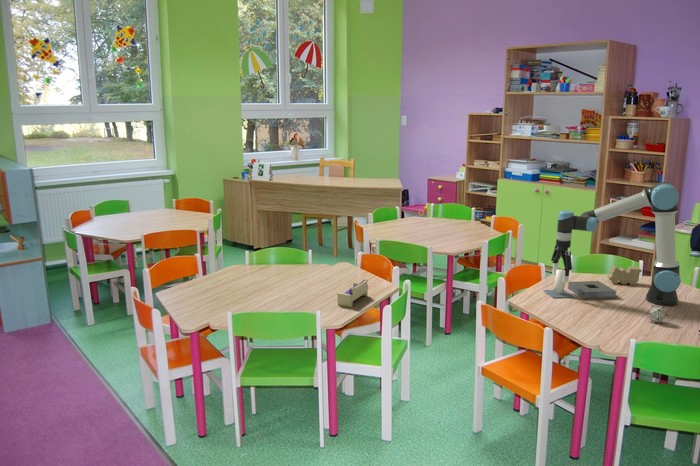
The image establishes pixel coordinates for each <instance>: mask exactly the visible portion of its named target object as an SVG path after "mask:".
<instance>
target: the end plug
mask: <svg viewBox="0 0 700 466" xmlns="http://www.w3.org/2000/svg"><path fill="white" fill-rule="evenodd" d="M563 275H564V269H559V268H558V269H557V270H556V275H555V278H554V289H553V290H554V293H555V294H557V295H563V294H564V290H565V283H566V282H563Z"/></svg>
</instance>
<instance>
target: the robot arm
mask: <svg viewBox="0 0 700 466" xmlns="http://www.w3.org/2000/svg"><path fill="white" fill-rule="evenodd" d="M679 195H680V194H679V191H678V190H677V188H676V186H675V185H674V184H673V183H670V182H668V181H662V182H658V183H655V184H653V185H651V186H649V187H646V188H644V189H642V191H641V192H639V193H636V194H633V195H631V196H628V197H625V198H622V199H620V200H617V201H614V202H613V201H612V202H610V203H609V204H605V205H603V206H600V207H597V208H595V209H592V210H590V211H584V212H582V213H581V214H580V215H575V214H574V212H573V211H572V210H571V211H570V210H561V211H559V212H558V219H557V229H556V234H555V235H556V240H555V245H554V248H553V249H554V250H553V253H552V256H551V259H550V260H551V262H552V273H551V275H552V276H553V275H554V276H556V270H557V269H559V264H560V263H559V261H560V259H562V263H563V266H564V269H563V270H564V275H563V282H565V283H566V282H567V283H569V277H570V271H572V270H573V264H572V252H571V251H569V250H568V249H569V248H571V246H572V245H571V244H572V234H573V230H574V231H582V232H583V231H584V232H588V233H589V232H592V233H593V232H597V227H598V224H599V223H601V222H604V221H607V220H610V219H612V218H613V219H614V218H615V217H619V216H621V215H625V214H627V213H629V212H633V211H636V210H638V209H641V208H644V207H647V206H649V207H651V213H652V214H653V215H654V216H655V218H654V219H655V221H654V222H655V248H656V249H655V251H656V253H655V254H656V256H655V257H656V259H654V261H653V265H652V266H653V269H652V277H651V283H650V284H651V285H650V286H649V289H648V290H647V293H646V295H645V301H647V302H649V303H652V304H654V305H660V306H665V307H666V306H667V307H669V306H670V307H671V306H673V307H674V306H677V305H678V303H679V298H678V293H677V289H678V288H679V287H680V285H681V283H682V281H681V275H680V274H681V273H680V268H681V267H680V262H679V261H678V260H677V249H676V248H677V247H676V214H677V213H678V211H679V200H680V196H679Z"/></svg>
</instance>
